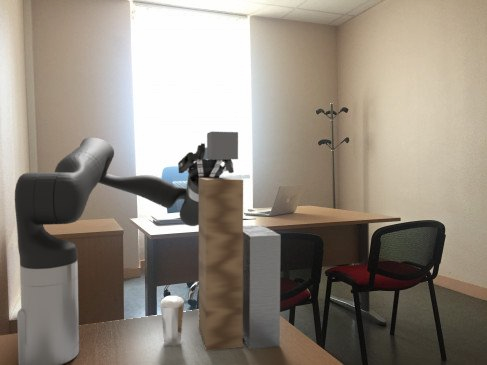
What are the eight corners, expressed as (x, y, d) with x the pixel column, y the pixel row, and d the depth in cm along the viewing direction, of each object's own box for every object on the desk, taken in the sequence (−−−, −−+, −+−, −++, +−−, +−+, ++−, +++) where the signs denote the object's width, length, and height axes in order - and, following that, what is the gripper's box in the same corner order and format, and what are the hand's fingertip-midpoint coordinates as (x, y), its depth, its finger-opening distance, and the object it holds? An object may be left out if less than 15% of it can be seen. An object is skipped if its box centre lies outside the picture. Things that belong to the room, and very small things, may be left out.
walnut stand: (206, 350, 74) (206, 179, 73) (198, 328, 84) (198, 177, 82) (242, 346, 76) (243, 179, 74) (231, 325, 86) (231, 177, 84)
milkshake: (183, 350, 74) (183, 297, 74) (156, 347, 76) (156, 295, 75) (191, 339, 79) (191, 289, 78) (166, 336, 80) (165, 288, 79)
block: (211, 159, 73) (211, 131, 72) (197, 159, 91) (197, 137, 91) (237, 159, 74) (238, 132, 74) (218, 159, 92) (218, 137, 92)
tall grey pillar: (249, 349, 75) (250, 236, 74) (235, 324, 86) (235, 226, 85) (279, 346, 76) (280, 235, 75) (261, 321, 88) (262, 225, 87)
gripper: (173, 169, 101) (178, 131, 87) (227, 169, 105) (241, 132, 90) (174, 196, 98) (180, 161, 83) (230, 195, 102) (245, 161, 87)
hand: (212, 146), depth 87 cm, fingers closed on block, 3 cm apart
